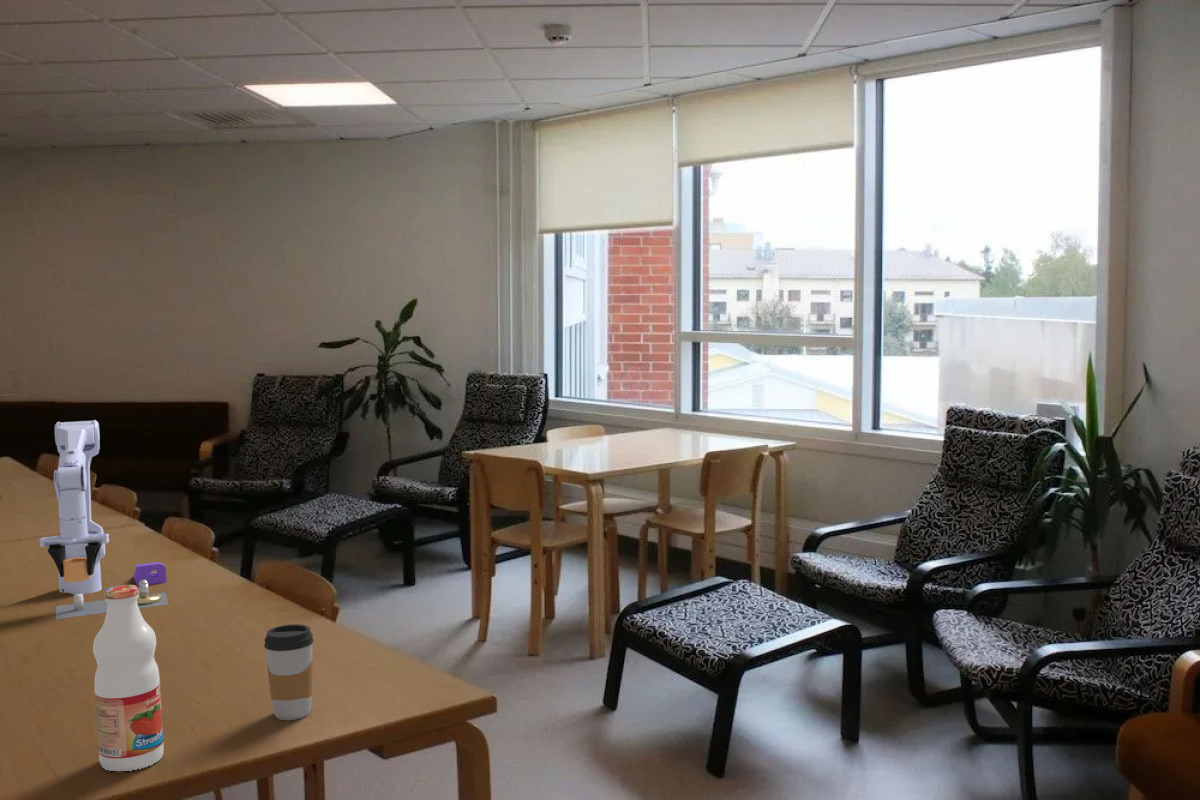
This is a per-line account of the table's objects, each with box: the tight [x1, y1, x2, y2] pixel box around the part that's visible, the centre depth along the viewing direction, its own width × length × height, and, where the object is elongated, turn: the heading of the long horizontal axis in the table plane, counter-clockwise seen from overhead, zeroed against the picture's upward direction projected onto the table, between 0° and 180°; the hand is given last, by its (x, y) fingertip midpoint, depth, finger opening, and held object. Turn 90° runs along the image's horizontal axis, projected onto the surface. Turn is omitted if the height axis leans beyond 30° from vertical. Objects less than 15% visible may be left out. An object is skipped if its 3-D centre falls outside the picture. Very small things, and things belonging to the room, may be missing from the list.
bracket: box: [132, 561, 167, 587], centre depth 278 cm, size 12×7×7 cm, turn 29°
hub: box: [137, 580, 161, 605], centre depth 257 cm, size 7×7×5 cm
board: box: [55, 592, 169, 620], centre depth 254 cm, size 24×12×5 cm, turn 116°
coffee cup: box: [263, 623, 314, 721], centre depth 187 cm, size 8×8×15 cm
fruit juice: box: [92, 584, 165, 773], centre depth 169 cm, size 9×9×28 cm
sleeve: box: [63, 557, 90, 582], centre depth 250 cm, size 5×5×4 cm
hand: (77, 575), depth 250 cm, fingers closed on sleeve, 5 cm apart
